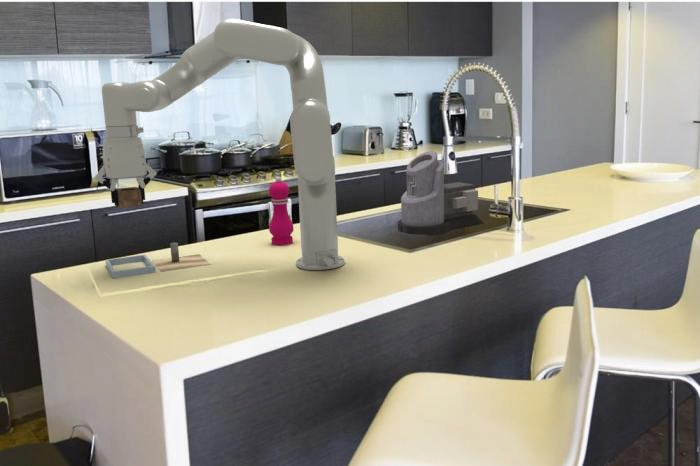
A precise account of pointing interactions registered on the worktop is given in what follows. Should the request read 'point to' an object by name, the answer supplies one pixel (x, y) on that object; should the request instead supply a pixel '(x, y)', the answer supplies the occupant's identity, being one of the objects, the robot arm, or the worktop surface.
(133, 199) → the collar
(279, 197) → the pepper mill
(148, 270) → the tray
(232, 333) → the worktop surface
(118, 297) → the worktop surface
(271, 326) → the worktop surface
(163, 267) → the stake board
